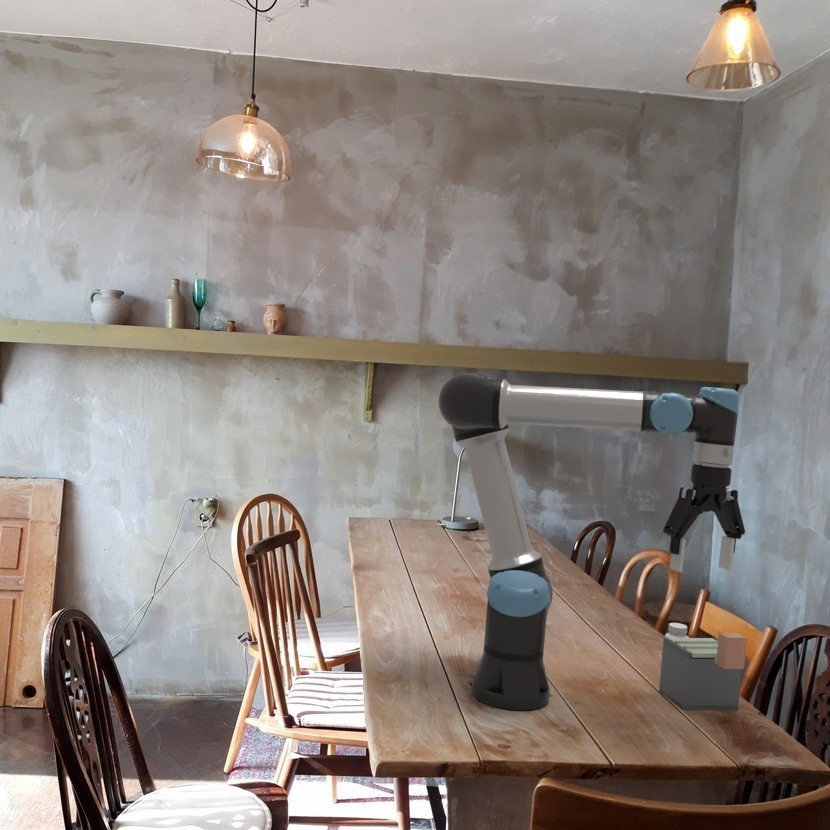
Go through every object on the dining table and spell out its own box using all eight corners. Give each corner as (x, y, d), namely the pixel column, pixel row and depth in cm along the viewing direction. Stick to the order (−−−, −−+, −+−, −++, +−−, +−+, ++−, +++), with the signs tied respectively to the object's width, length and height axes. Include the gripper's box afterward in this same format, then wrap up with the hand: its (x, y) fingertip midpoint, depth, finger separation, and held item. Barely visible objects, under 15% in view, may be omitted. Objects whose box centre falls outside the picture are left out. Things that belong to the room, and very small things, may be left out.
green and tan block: (710, 669, 155) (713, 637, 155) (667, 641, 171) (670, 613, 170) (758, 669, 157) (761, 637, 157) (711, 641, 173) (714, 613, 172)
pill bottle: (658, 663, 188) (662, 621, 188) (681, 664, 189) (684, 622, 189) (667, 671, 183) (671, 628, 183) (691, 672, 184) (695, 629, 183)
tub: (683, 709, 161) (688, 652, 161) (659, 690, 171) (663, 637, 170) (738, 708, 164) (743, 653, 164) (711, 690, 173) (716, 637, 173)
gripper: (680, 465, 156) (668, 576, 157) (770, 469, 168) (759, 572, 169) (651, 460, 163) (640, 566, 164) (740, 464, 174) (730, 563, 175)
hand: (700, 569), depth 166 cm, fingers open, 13 cm apart
